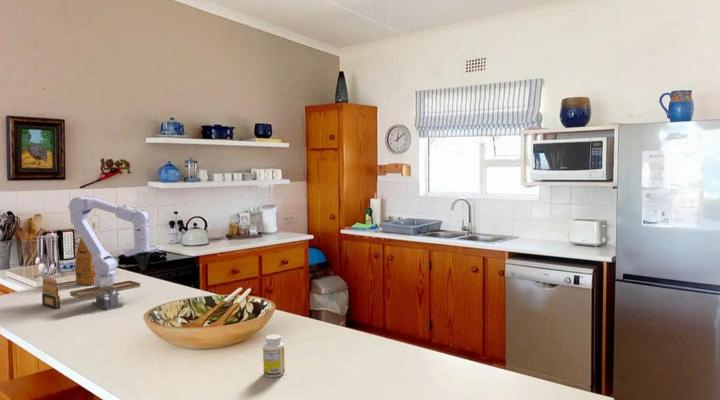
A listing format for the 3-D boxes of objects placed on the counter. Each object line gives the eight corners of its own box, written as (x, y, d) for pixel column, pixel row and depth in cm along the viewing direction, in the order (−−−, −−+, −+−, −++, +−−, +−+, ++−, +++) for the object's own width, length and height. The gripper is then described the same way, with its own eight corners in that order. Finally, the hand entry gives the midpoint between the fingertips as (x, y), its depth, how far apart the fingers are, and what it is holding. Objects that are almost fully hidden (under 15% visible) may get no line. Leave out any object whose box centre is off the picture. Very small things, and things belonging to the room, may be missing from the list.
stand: (91, 304, 210) (90, 286, 210) (106, 301, 215) (105, 283, 214) (107, 310, 202) (106, 291, 202) (122, 306, 207) (121, 288, 206)
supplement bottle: (275, 368, 144) (274, 331, 143) (289, 373, 140) (288, 336, 140) (259, 374, 140) (258, 337, 139) (273, 380, 136) (272, 341, 135)
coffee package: (90, 279, 256) (88, 235, 255) (108, 281, 251) (106, 236, 250) (71, 284, 247) (69, 238, 246) (89, 286, 242) (87, 239, 241)
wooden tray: (69, 297, 202) (69, 291, 201) (129, 285, 220) (129, 280, 220) (80, 301, 196) (80, 294, 196) (140, 288, 215) (140, 283, 215)
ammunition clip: (42, 305, 210) (40, 276, 209) (47, 304, 212) (45, 275, 211) (55, 309, 204) (53, 279, 203) (60, 308, 206) (58, 278, 205)
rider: (95, 289, 207) (94, 279, 207) (107, 286, 211) (107, 277, 211) (100, 290, 205) (100, 280, 204) (113, 288, 209) (112, 278, 208)
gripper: (130, 242, 217) (131, 274, 218) (161, 237, 229) (163, 268, 230) (121, 240, 222) (122, 272, 223) (153, 236, 233) (154, 266, 234)
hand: (142, 270), depth 226 cm, fingers closed
